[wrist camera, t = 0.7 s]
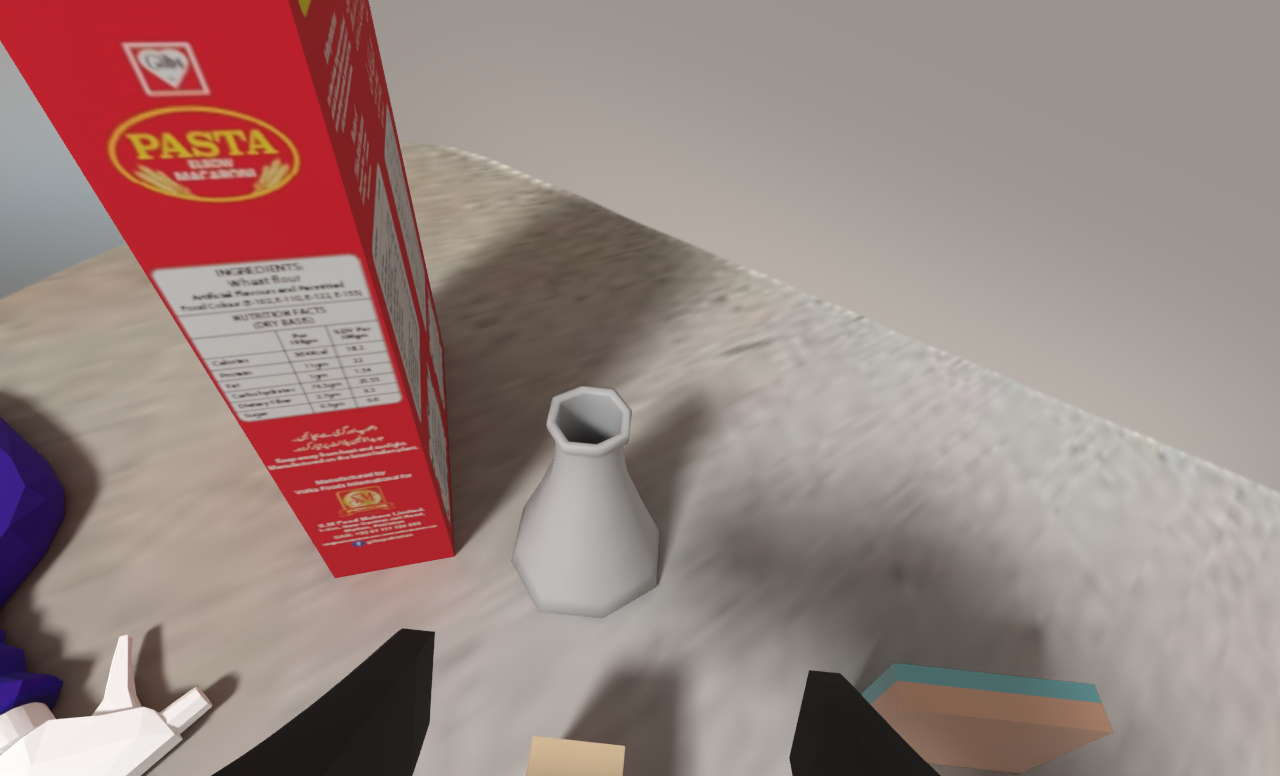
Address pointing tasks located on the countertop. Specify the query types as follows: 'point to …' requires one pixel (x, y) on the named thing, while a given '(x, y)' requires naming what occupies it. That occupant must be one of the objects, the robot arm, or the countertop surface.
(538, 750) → the tall tan prism
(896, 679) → the tile
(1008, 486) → the countertop surface
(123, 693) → the spray bottle
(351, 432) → the food packaging
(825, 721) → the robot arm
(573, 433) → the flask
